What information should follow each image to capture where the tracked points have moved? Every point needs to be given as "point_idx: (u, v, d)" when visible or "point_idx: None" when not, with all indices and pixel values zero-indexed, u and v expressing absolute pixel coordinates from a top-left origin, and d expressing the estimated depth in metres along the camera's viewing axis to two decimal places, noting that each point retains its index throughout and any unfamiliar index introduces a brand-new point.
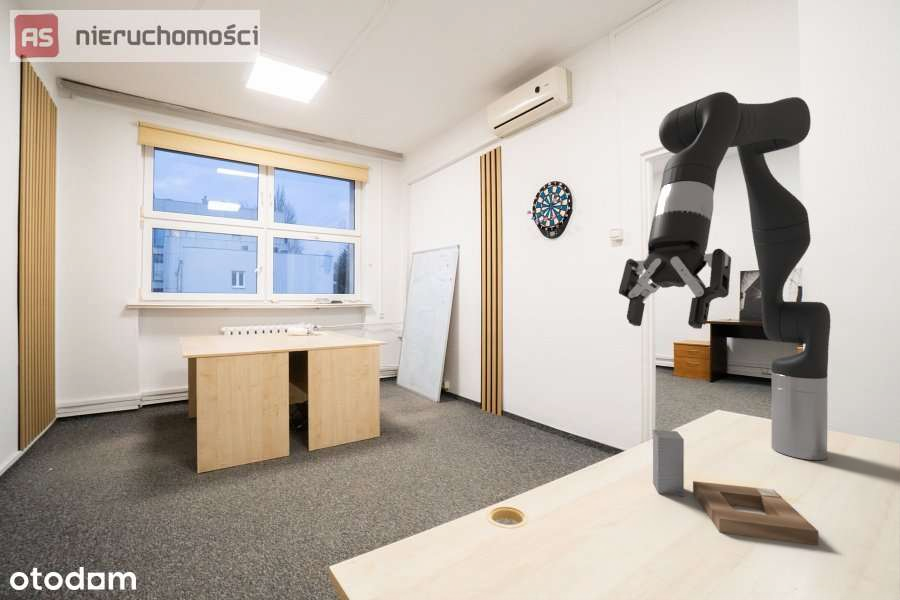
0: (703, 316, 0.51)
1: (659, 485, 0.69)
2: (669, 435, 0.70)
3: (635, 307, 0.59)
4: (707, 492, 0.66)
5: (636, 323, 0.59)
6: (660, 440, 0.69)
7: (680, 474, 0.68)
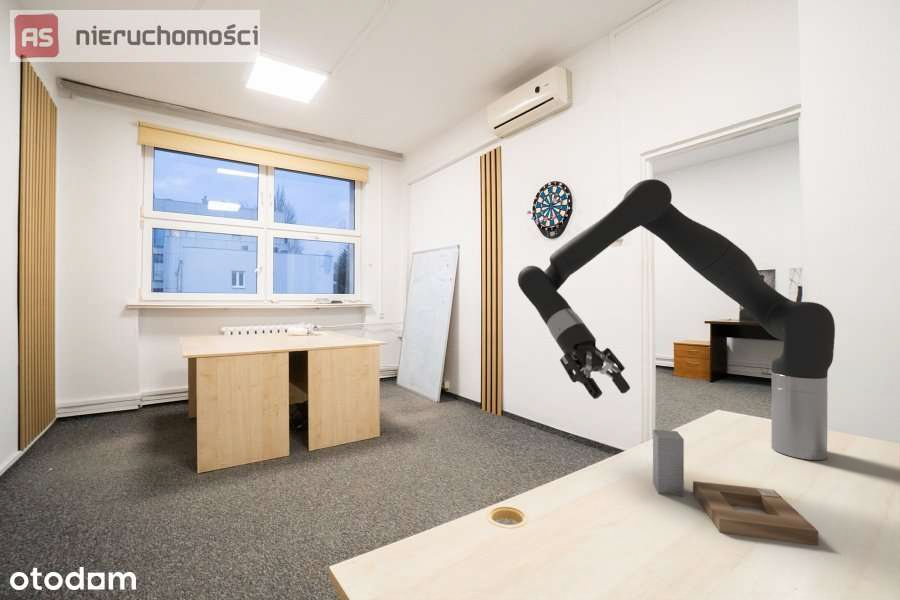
0: (589, 392, 0.79)
1: (659, 485, 0.69)
2: (669, 435, 0.70)
3: (615, 384, 0.84)
4: (707, 492, 0.66)
5: (624, 390, 0.82)
6: (660, 440, 0.69)
7: (680, 474, 0.68)
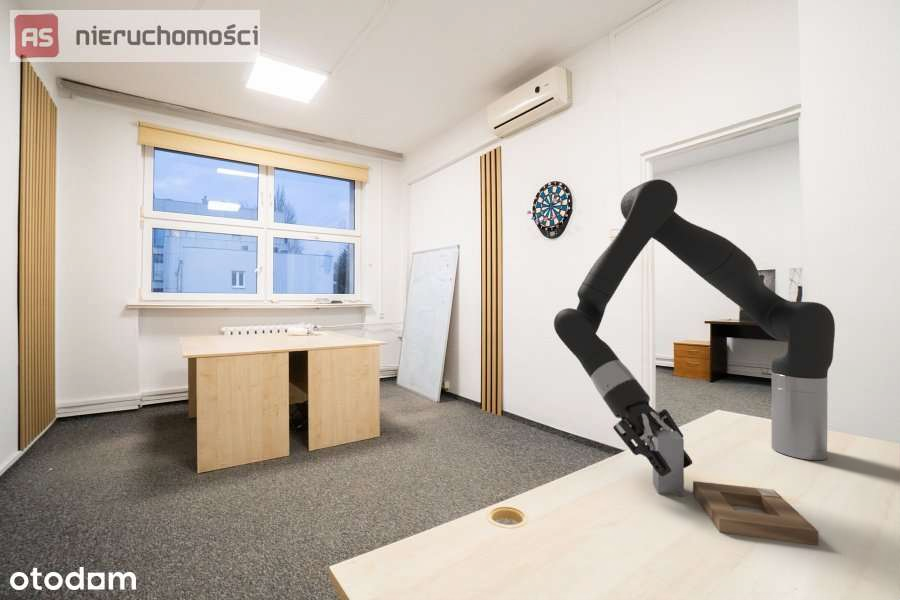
0: (655, 468, 0.68)
1: (659, 485, 0.69)
2: (669, 435, 0.70)
3: None
4: (707, 492, 0.66)
5: (686, 465, 0.71)
6: (660, 440, 0.69)
7: (680, 474, 0.68)
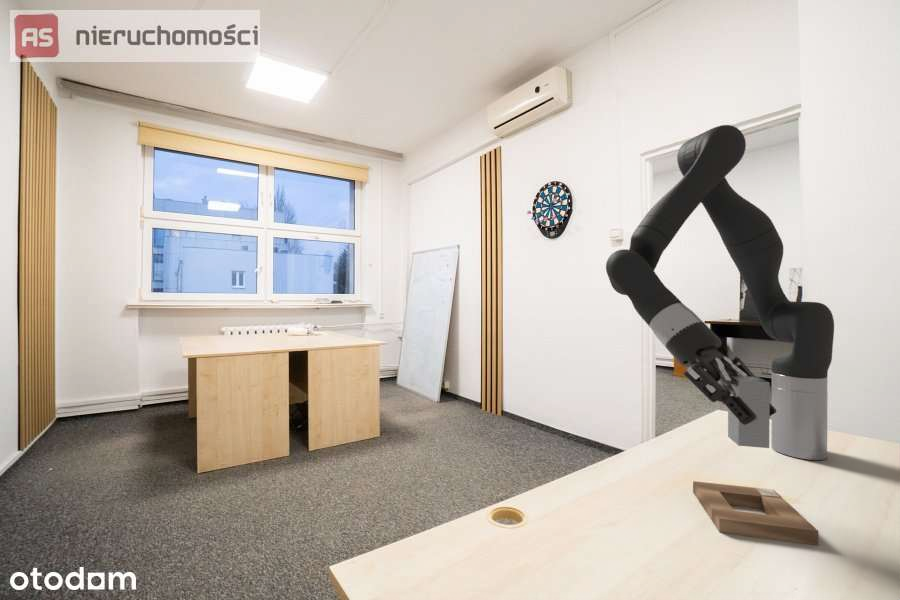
0: (737, 416, 0.60)
1: (740, 436, 0.61)
2: (750, 379, 0.61)
3: None
4: (707, 492, 0.66)
5: None
6: (741, 384, 0.60)
7: (765, 422, 0.60)
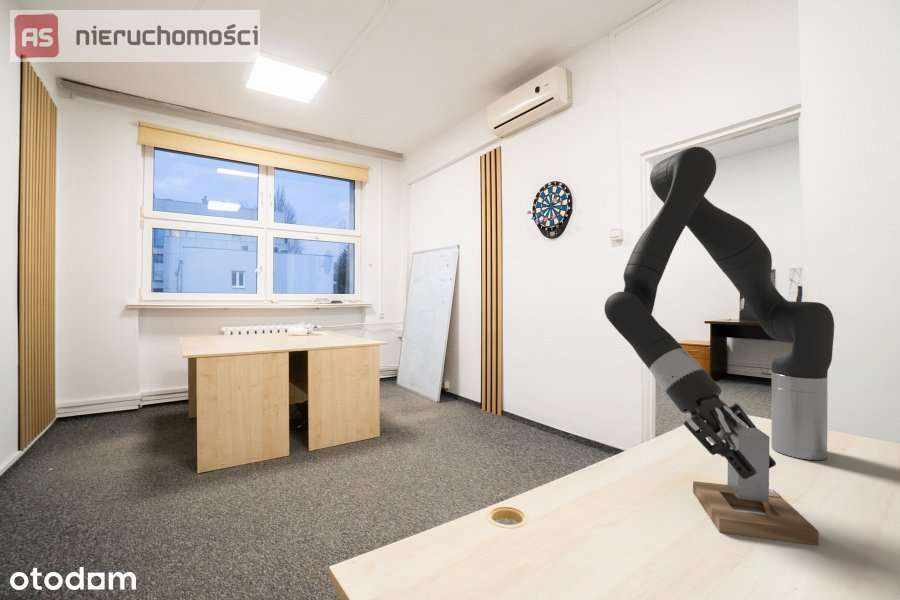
0: (737, 470, 0.60)
1: (739, 489, 0.61)
2: (750, 432, 0.61)
3: None
4: (707, 492, 0.66)
5: None
6: (741, 438, 0.60)
7: (764, 476, 0.60)
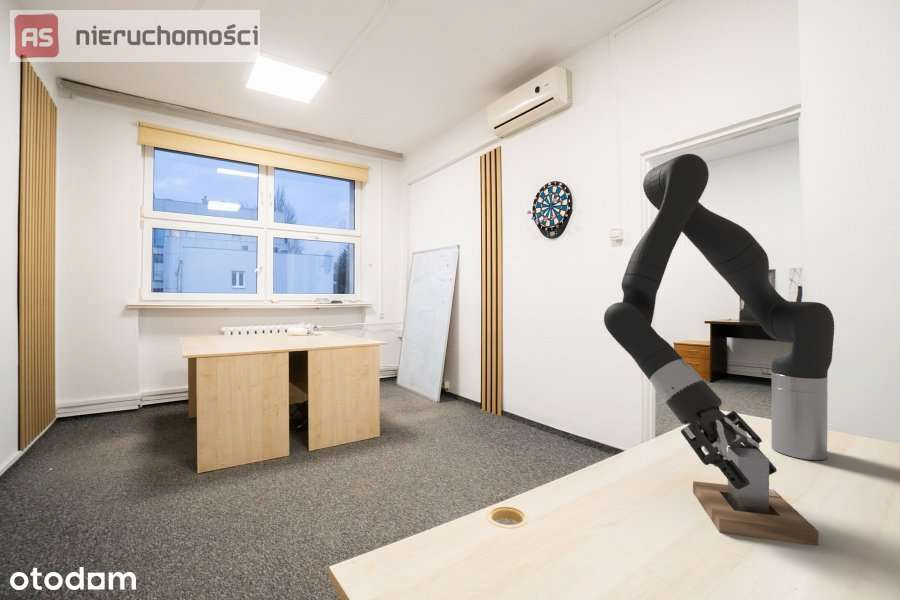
0: (730, 480, 0.59)
1: None
2: (749, 454, 0.62)
3: None
4: (707, 492, 0.66)
5: (769, 473, 0.63)
6: (741, 460, 0.61)
7: (764, 499, 0.60)
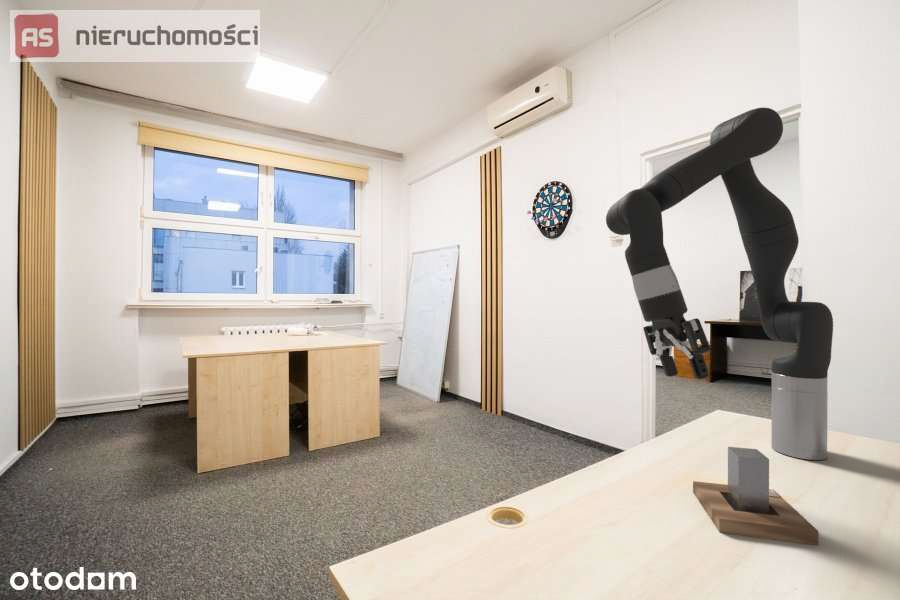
0: (701, 371, 0.68)
1: None
2: (749, 454, 0.62)
3: (664, 365, 0.77)
4: (707, 492, 0.66)
5: (672, 374, 0.77)
6: (741, 460, 0.61)
7: (764, 499, 0.60)
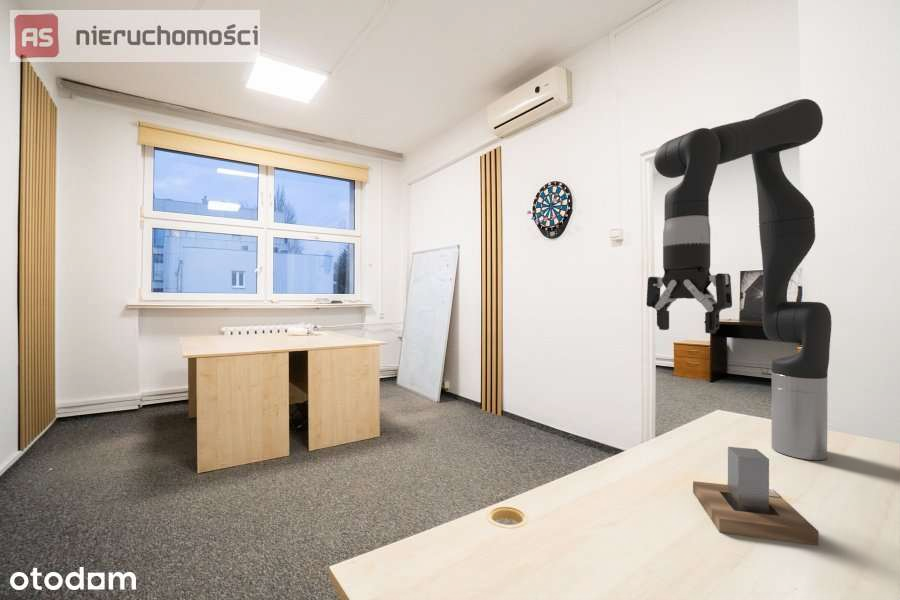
0: (715, 325, 0.68)
1: None
2: (749, 454, 0.62)
3: (662, 317, 0.76)
4: (707, 492, 0.66)
5: (665, 328, 0.76)
6: (741, 460, 0.61)
7: (764, 499, 0.60)
